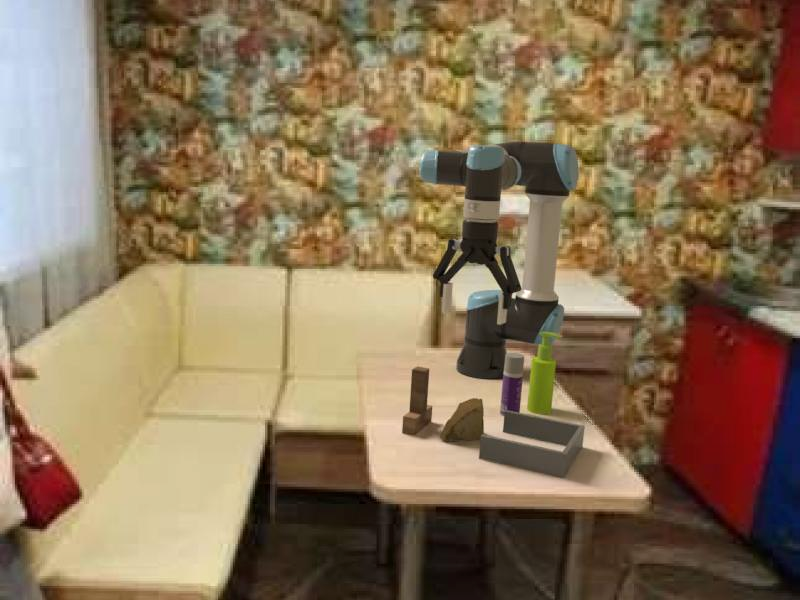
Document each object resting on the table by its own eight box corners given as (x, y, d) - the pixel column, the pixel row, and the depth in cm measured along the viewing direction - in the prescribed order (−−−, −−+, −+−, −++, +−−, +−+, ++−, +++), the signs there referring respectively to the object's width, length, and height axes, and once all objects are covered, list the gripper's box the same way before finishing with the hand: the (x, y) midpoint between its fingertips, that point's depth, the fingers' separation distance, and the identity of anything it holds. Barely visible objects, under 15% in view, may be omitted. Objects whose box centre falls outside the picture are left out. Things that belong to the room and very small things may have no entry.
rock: (438, 437, 170) (484, 434, 169) (437, 398, 174) (482, 396, 172) (442, 449, 180) (486, 447, 179) (440, 413, 183) (484, 411, 182)
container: (518, 418, 190) (524, 358, 186) (499, 416, 191) (504, 356, 187) (519, 412, 194) (525, 353, 191) (500, 410, 195) (505, 351, 192)
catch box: (504, 430, 182) (506, 410, 181) (582, 447, 175) (584, 425, 174) (478, 458, 166) (480, 435, 165) (563, 477, 159) (566, 454, 158)
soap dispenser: (549, 417, 192) (557, 337, 188) (523, 410, 196) (530, 332, 191) (558, 410, 197) (566, 333, 193) (532, 404, 200) (539, 328, 196)
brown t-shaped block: (419, 419, 186) (423, 362, 183) (431, 422, 185) (435, 364, 182) (402, 433, 177) (405, 373, 174) (414, 436, 176) (418, 376, 173)
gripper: (421, 214, 170) (415, 310, 175) (527, 228, 157) (518, 331, 161) (439, 212, 176) (433, 305, 181) (542, 225, 163) (533, 325, 167)
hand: (473, 317), depth 171 cm, fingers open, 13 cm apart
